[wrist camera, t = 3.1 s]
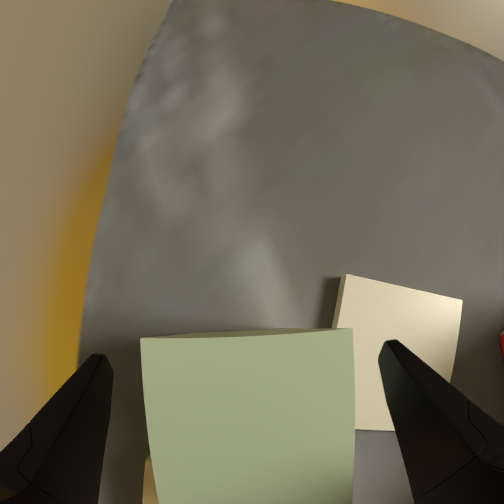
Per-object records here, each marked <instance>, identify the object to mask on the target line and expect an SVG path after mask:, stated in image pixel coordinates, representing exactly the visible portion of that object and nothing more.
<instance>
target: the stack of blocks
mask: <svg viewBox="0 0 504 504" xmlns="http://www.w3.org/2000/svg"><path fill="white" fill-rule="evenodd" d="M499 337H500V342H501V347H502V352H503V358H504V331H502V332H501V333H500V334H499Z"/></svg>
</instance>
